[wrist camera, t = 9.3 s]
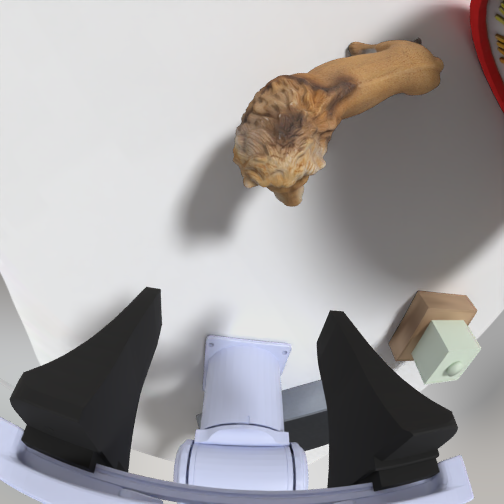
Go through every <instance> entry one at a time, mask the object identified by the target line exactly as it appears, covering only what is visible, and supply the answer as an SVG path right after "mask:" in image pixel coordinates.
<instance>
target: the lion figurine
mask: <svg viewBox="0 0 504 504" xmlns="http://www.w3.org/2000/svg"><path fill="white" fill-rule="evenodd" d="M349 51H350V53H351V55H352V56H350V57H345V58H339V59H336V60H332V61H329V62H327V63H324V64H322V65H320V66H318V67H316V68H314V69H312V70H311V71H309V72H308V73H297V74H293V75H282V76H278V77H276V78H275V79H273V80H271V81H270V82H268V83H267V84H266V86H265V87H263V88H262V89H260V91H259V92H257V93H256V94H255V96H254V99H253V100H252V102H250V103H249V106H248V107H247V109H246V112H245V113H244V114H243V116H242V123H241V125H240V126H238V127H237V129H236V137H235V146H234V149H233V153H234V158H233V162H234V163H235V164H237V165H238V166H239V168H240V170H241V174H242V176H243V177H244V179H243V183H244V186H245V187H247V188H251V187H255V186H258V185H260V186H262V187H267V188H268V189H269V190H271V191H272V192H274V194H275V196H276V198H277V199H278V200H280V201H281V202H283V203H284V204H285V205H286V206H291V207H292V206H297V205H299V204H300V202H301V201H302V195H303V192H304V186H303V185H304V184H305V183H306V182H307V180H308V178H309V175H314V174H315V173H317V171H318V170H321V169H322V168H324V167H325V166H326V162H325V161H324V160H323V157H324V155H325V153H326V152H327V144H328V142H329V141H330V139H331V135H332V133H333V131H334V130H335V128H336V127H337V126H338V124H339V123H340V122H341V120H342V119H345V118H349V117H352V116H355V115H358V114H360V113H362V112H364V111H366V110H368V109H370V108H372V107H374V106H376V105H377V104H379V103H380V102H382V101H384V100H385V99H387V98H389V97H390V96H392V95H395V94H398V93H404V94H407V95H422V94H425V93H428V92H429V91H431V90H433V89H434V88H436V87H437V86H438V85H439V84H440V72H441V71H442V69H443V67H444V64H443V62H442V60H441V59H439V58H437V57H434V56H433V55H432V53H431V52H430V51H429V50H428V49H427V48H425V47H424V46H422V45H421V39H420V38H418V39H417V40H415V41H413V42H411V41H406V40H391V41H386V42H381V43H379V44H375V45H369V44H364V43H360V42H353V43H351V44H350V45H349Z"/></svg>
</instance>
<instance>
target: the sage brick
mask: <svg viewBox="0 0 504 504" xmlns="http://www.w3.org/2000/svg"><path fill="white" fill-rule="evenodd" d="M480 349H481V347H480V345H479V344H478V342H477V340H476V339H475V337H474V335H473V334H472V332H471V331H470V329H469V328H468V326H467V324H466V323H465V321H464V320H431V322H430V324H429V325H428V327H427V329H426V330H425V332H424V334H423V335H422V337H421V339H420V340H419V342H418V344H417V345H416V347H415V348H414V350H413V351H412V353H411V354H412V357H413V359H414V361H415V363H416V366H417V368H418V370H419V373H420V375H421V378H422V380H423V382H424V385H425V384H432V383H440V382H446V381H453V380H458V378H459V377H460V376H461V375H462V373H463V372H464V371H465V370H466V368H467V367H468V366H469V364H470V363H471V362H472V361H473V359H474V358H475V357H476V355H477V354H478V352H479V351H480Z"/></svg>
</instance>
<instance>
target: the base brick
mask: <svg viewBox="0 0 504 504" xmlns="http://www.w3.org/2000/svg"><path fill="white" fill-rule="evenodd" d="M476 312H477V309H476V308H475V307H474V305H473V304H472V302H471V301H470V300H469V298H468V297H467V296H466V295H456V294H446V293H436V292H426V291H418V292H417V294H416V295H415V297H414V299H413V301H412V303H411V305H410V307H409V309H408V310H407V312H406V314H405V316H404V318H403V320H402V321H401V323H400V325H399V327H398V328H397V330H396V332H395V333H394V335H393V337H392V338H391V340H390V342H389V346H390V348H391V351H392V353H393V356H394V358H395V361H414V359H413V357H412V354H411V353H412V351H413V350H414V348H415V347H416V345H417V344H418V342H419V340H420V339H421V337H422V335H423V334H424V332H425V330H426V329H427V327H428V325H429V324H430V322H431V320H464V321H465V323H466V324H467V326H468V325H469V323H470V322H471V320H472V319H473V317H474V316H475V314H476Z"/></svg>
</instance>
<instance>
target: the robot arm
mask: <svg viewBox="0 0 504 504" xmlns="http://www.w3.org/2000/svg"><path fill="white" fill-rule="evenodd" d="M161 326H162V315H161V289H156V288H150V287H146V288H145V289H144V290H143V291H142V292H141V293H140V294H139V295H138V296H137V297H136V298H135V299H134V300H133V301H132V302H131V303H130V304H129V305H128V306H127V307H126V308H125V309H124V310H123V311H122V312H121V313H120V314H119V315H118V316H117V317H116V318H115V319H113V320H112V321H111V322H110V323H109V324H108V325H106V326H105V327H104V328H103V329H102V330H101V331H99V332H98V333H97V334H96V335H94V336H93V337H92V338H90V339H89V340H87V341H86V342H85V343H83V344H81V345H80V346H78V347H77V348H75V349H74V350H72V351H70V352H69V353H67V354H65V355H63V356H61V357H59V358H58V359H55V360H53V361H51V362H49V363H47V364H45V365H42V366H40V367H37V368H34V369H32V370H29V371H26V372H24V373H23V374H22V376H21V378H20V379H19V381H18V383H17V385H16V387H15V389H14V391H13V393H12V395H11V397H10V402H11V405H12V407H13V408H14V410H15V411H16V412H17V413H18V414H19V416H20V417H21V418H22V419H23V421H24V422H25V423H26V424H27V426H26V428H25V431H24V430H23V429H22V428H20V427H19V426H17V425H15V424H13V423H11V422H9V421H7V420H6V419H4V418H2V417H0V480H1V481H3V482H5V483H6V484H8V485H9V486H11V487H13V488H14V489H16V490H18V491H20V492H22V493H23V494H26V495H27V496H29V497H31V498H33V499H35V500H37V501H39V502H41V503H43V504H163V501H162V500H168V501H174V502H177V504H465V503H467V502H468V501H471V500H473V498H474V496H473V492H472V488H471V485H470V481H469V478H468V475H467V472H466V468H465V465H464V462H463V459H462V456H461V455H458V456H455V457H452V458H449V459H446V460H443V461H441V462H439V463H437V461H436V458H437V457H438V456H439V452H438V448H439V447H440V446H442V445H443V444H445V443H446V442H447V441H448V440H449V439H451V438H452V437H453V436H454V434H455V433H456V432H457V429H458V427H457V424H456V421H455V419H454V416H453V414H452V412H451V411H450V410H448V409H446V408H444V407H442V406H441V405H439V404H437V403H435V402H433V401H432V400H430V399H429V398H427V397H426V396H424V395H423V394H421V393H420V392H418V391H417V390H416V389H414V388H413V387H412V386H411V385H409V384H408V383H407V382H406V381H404V380H403V379H402V378H401V377H400V376H399V375H398V374H396V373H395V372H394V371H393V370H392V369H391V368H390V367H389V366H388V365H387V364H386V363H385V362H384V361H383V360H382V358H381V357H380V356H379V355H378V354H377V353H376V352H375V351H374V349H373V348H372V347H371V346H370V345H369V344H368V342H367V341H366V340H365V339H364V337H363V336H362V335H361V334H360V332H359V331H358V330H357V328H356V327H355V326H354V325H353V323H352V322H351V321H350V319H349V318H348V317H347V316H346V314H345V313H344V312H343V311H331V310H330V312H329V314H328V317H327V319H326V322H325V324H324V327H323V329H322V331H321V334H320V336H319V338H318V341H317V356H318V365H319V370H320V375H321V380H322V385H323V390H324V395H325V400H326V406H327V412H328V427H329V474H328V487H327V488H325V489H311V490H308V465H307V458H306V454H305V452H304V450H303V449H302V448H301V447H300V446H299V444H297V443H296V442H294V443H289V433H288V432H284V419H283V404H282V389H281V375H282V372H283V370H284V367H285V364H286V362H287V359H288V357H289V354H290V351H291V345H290V344H287V343H276V342H265V341H256V340H246V339H238V338H229V337H222V336H214V335H209V336H208V337H207V339H206V349H205V362H204V376H203V391H204V392H205V394H204V402H203V410H202V418H201V426H200V429H196V432H195V440H191V439H187V440H186V441H185V442H184V443H183V444H182V445H181V446H180V447H179V449H178V451H177V455H176V459H175V465H174V482H169V481H164V480H159V479H154V478H149V477H144V476H140V475H136V474H131V473H128V468H129V458H130V449H131V442H132V435H133V429H134V423H135V417H136V412H137V407H138V402H139V398H140V393H141V390H142V387H143V384H144V381H145V378H146V375H147V372H148V369H149V366H150V364H151V361H152V358H153V355H154V352H155V350H156V347H157V344H158V339H159V335H160V331H161ZM210 343H212V344H210ZM284 351H285V352H284ZM160 499H162V500H160Z"/></svg>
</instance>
